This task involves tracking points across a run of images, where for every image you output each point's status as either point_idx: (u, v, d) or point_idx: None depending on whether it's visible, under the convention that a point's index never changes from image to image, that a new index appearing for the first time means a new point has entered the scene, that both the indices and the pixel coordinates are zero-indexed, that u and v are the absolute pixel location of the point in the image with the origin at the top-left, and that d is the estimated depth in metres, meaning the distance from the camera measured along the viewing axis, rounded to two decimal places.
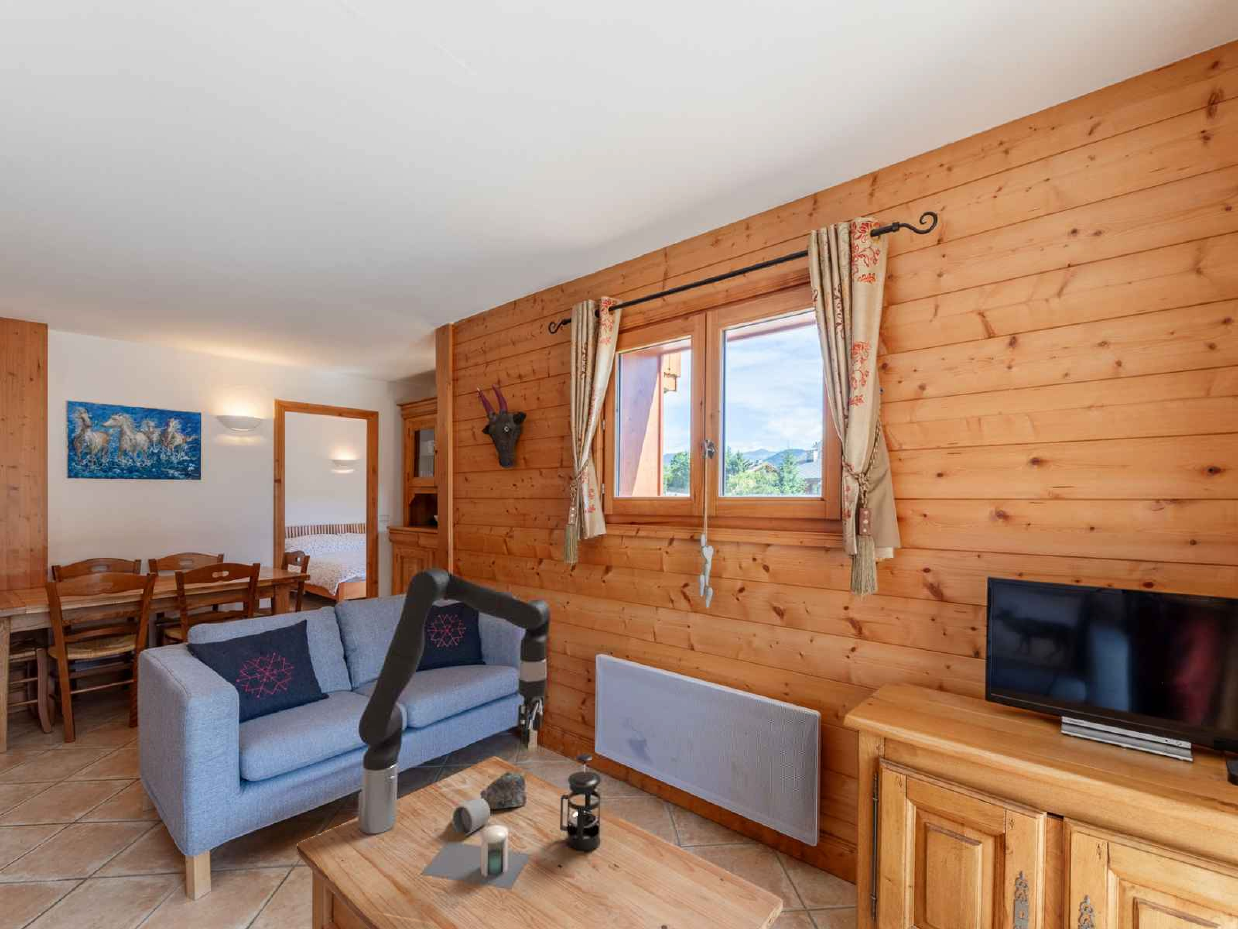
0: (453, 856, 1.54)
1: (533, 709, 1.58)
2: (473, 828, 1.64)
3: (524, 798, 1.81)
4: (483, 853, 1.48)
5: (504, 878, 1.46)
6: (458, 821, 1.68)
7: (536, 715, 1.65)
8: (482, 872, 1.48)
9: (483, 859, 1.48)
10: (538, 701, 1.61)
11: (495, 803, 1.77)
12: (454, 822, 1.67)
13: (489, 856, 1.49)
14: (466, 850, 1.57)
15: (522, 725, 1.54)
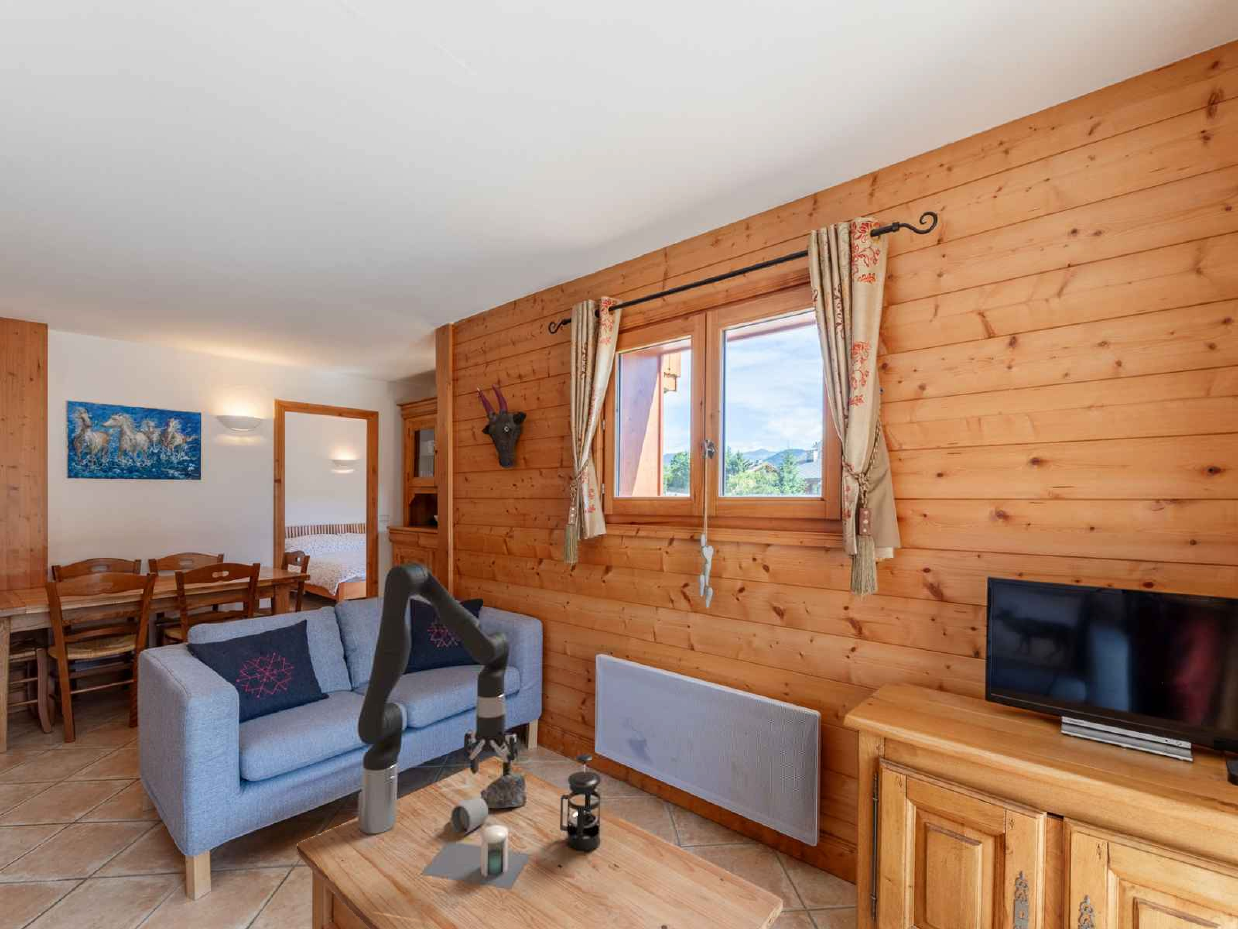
0: (453, 856, 1.54)
1: None
2: (471, 827, 1.64)
3: (524, 798, 1.81)
4: (483, 853, 1.48)
5: (504, 878, 1.46)
6: (456, 820, 1.68)
7: (475, 757, 1.57)
8: (482, 872, 1.48)
9: (483, 859, 1.48)
10: None
11: (495, 803, 1.77)
12: (452, 821, 1.67)
13: (489, 856, 1.49)
14: (466, 850, 1.57)
15: (515, 754, 1.55)
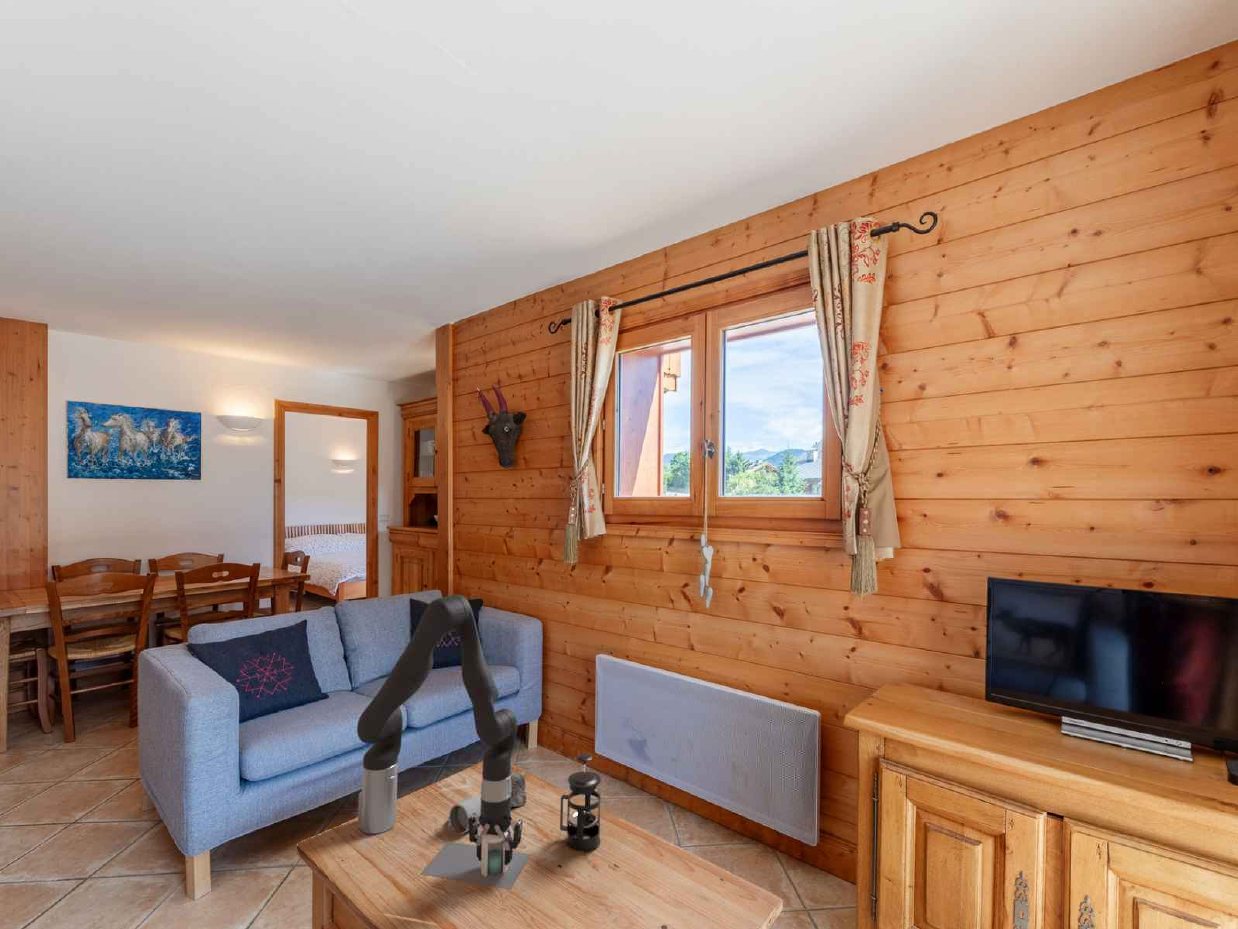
0: (453, 856, 1.54)
1: None
2: None
3: (524, 798, 1.81)
4: (483, 853, 1.48)
5: (504, 878, 1.46)
6: (455, 820, 1.69)
7: None
8: (482, 872, 1.48)
9: (483, 859, 1.48)
10: None
11: None
12: (450, 820, 1.67)
13: (489, 856, 1.49)
14: (466, 850, 1.57)
15: (517, 842, 1.49)
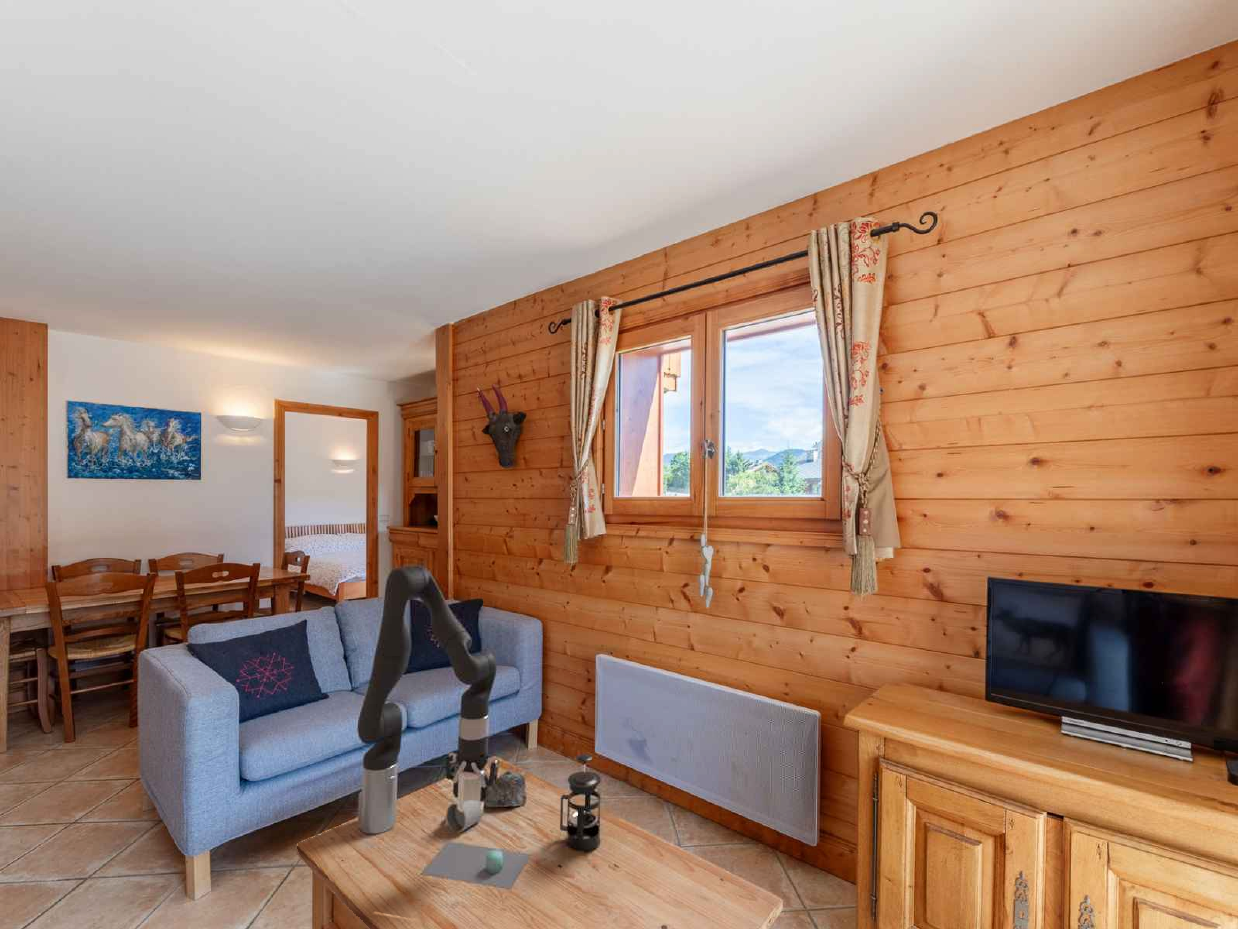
0: (453, 856, 1.54)
1: None
2: (466, 825, 1.65)
3: (524, 797, 1.81)
4: (459, 790, 1.50)
5: (504, 878, 1.46)
6: (452, 818, 1.69)
7: None
8: (458, 808, 1.50)
9: (459, 795, 1.50)
10: None
11: (495, 802, 1.78)
12: (448, 819, 1.68)
13: (489, 856, 1.49)
14: (466, 850, 1.57)
15: (493, 779, 1.51)
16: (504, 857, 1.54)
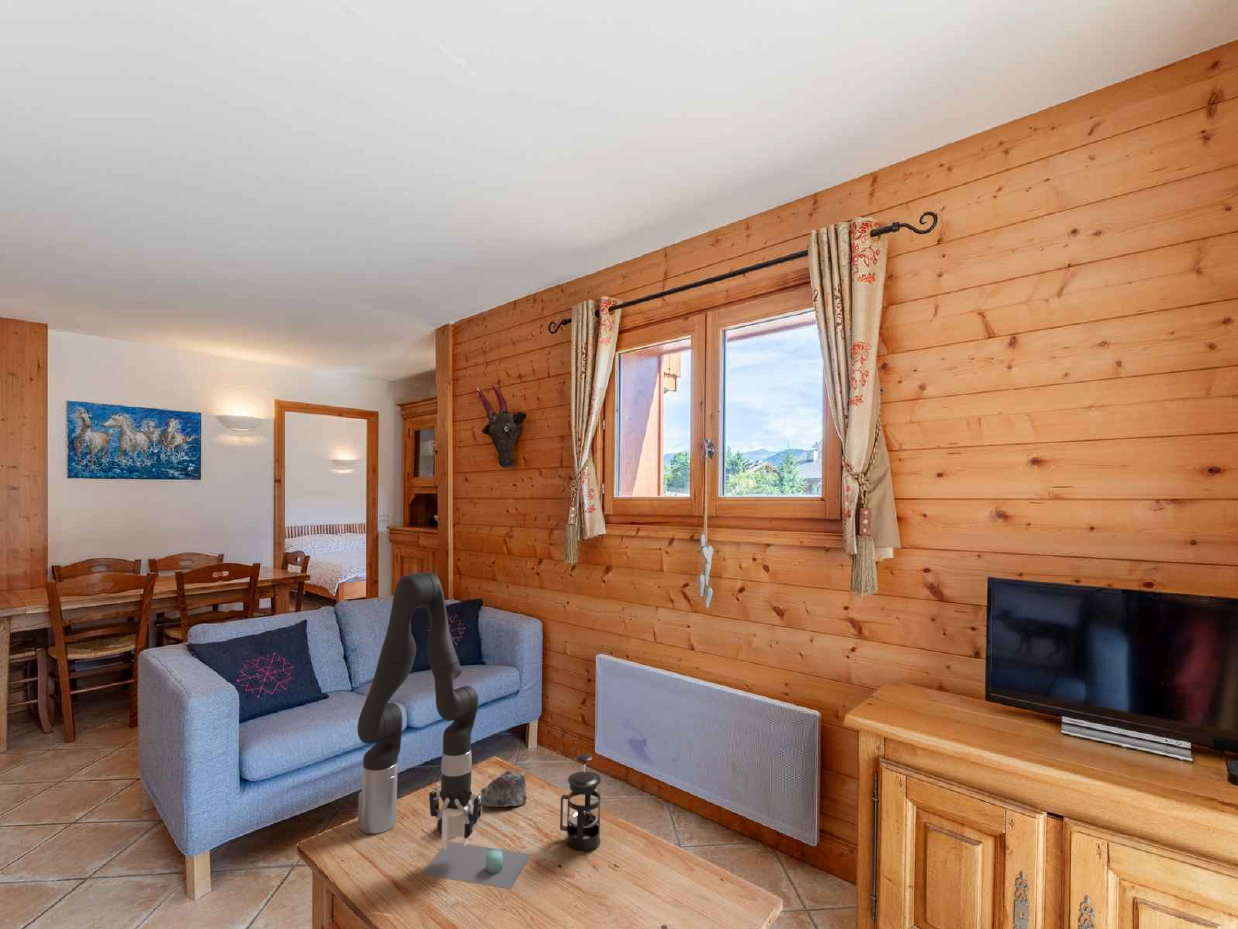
0: (453, 856, 1.54)
1: None
2: None
3: (524, 797, 1.81)
4: (443, 827, 1.50)
5: (504, 878, 1.46)
6: None
7: None
8: (442, 845, 1.50)
9: (443, 833, 1.50)
10: None
11: (495, 802, 1.78)
12: None
13: (489, 856, 1.49)
14: (466, 850, 1.57)
15: None
16: (504, 857, 1.54)
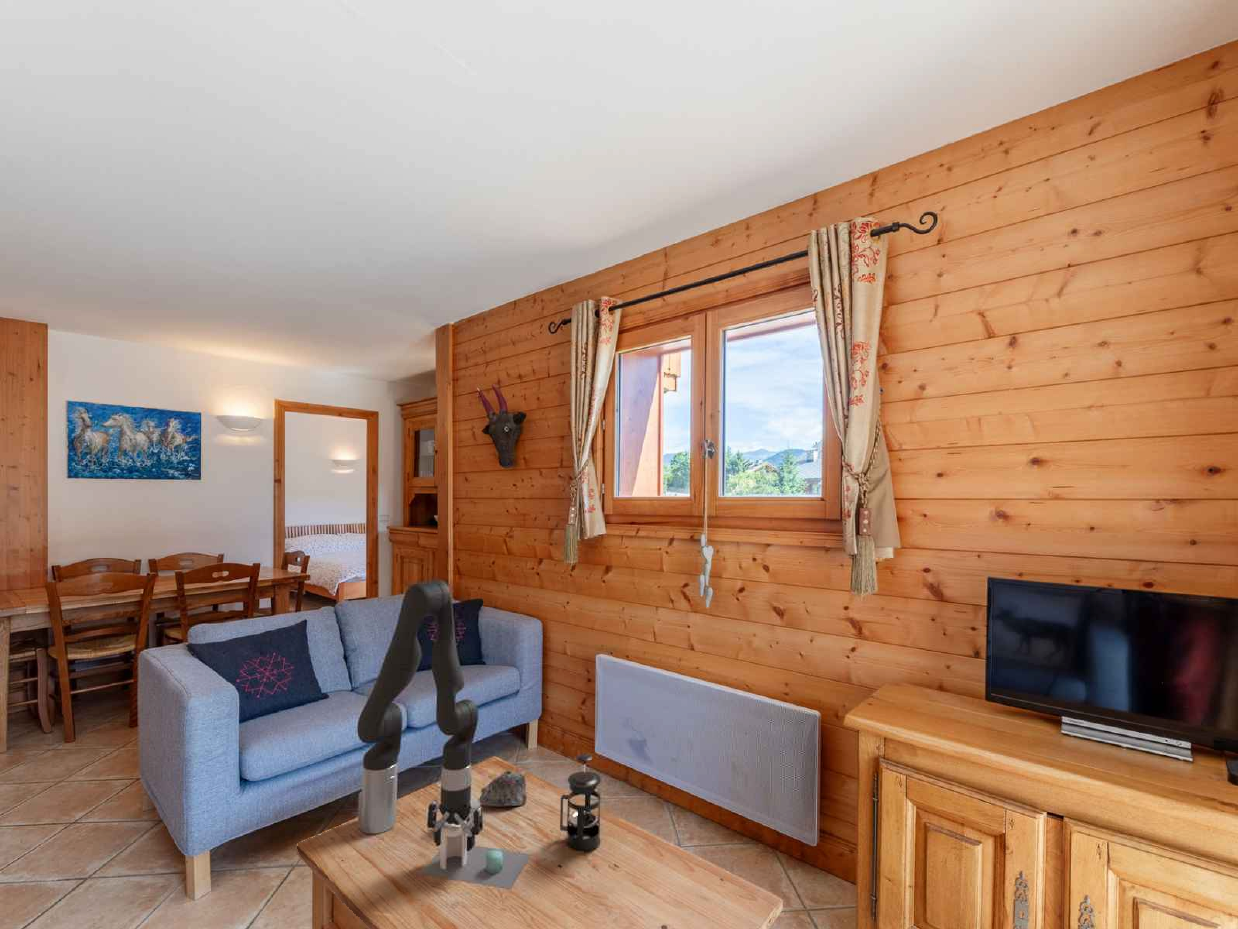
0: (453, 856, 1.54)
1: None
2: None
3: (524, 797, 1.81)
4: (442, 847, 1.50)
5: (504, 878, 1.46)
6: None
7: (439, 828, 1.53)
8: (441, 865, 1.50)
9: (442, 853, 1.50)
10: None
11: (494, 801, 1.78)
12: None
13: (489, 856, 1.49)
14: None
15: (479, 828, 1.51)
16: (504, 857, 1.54)
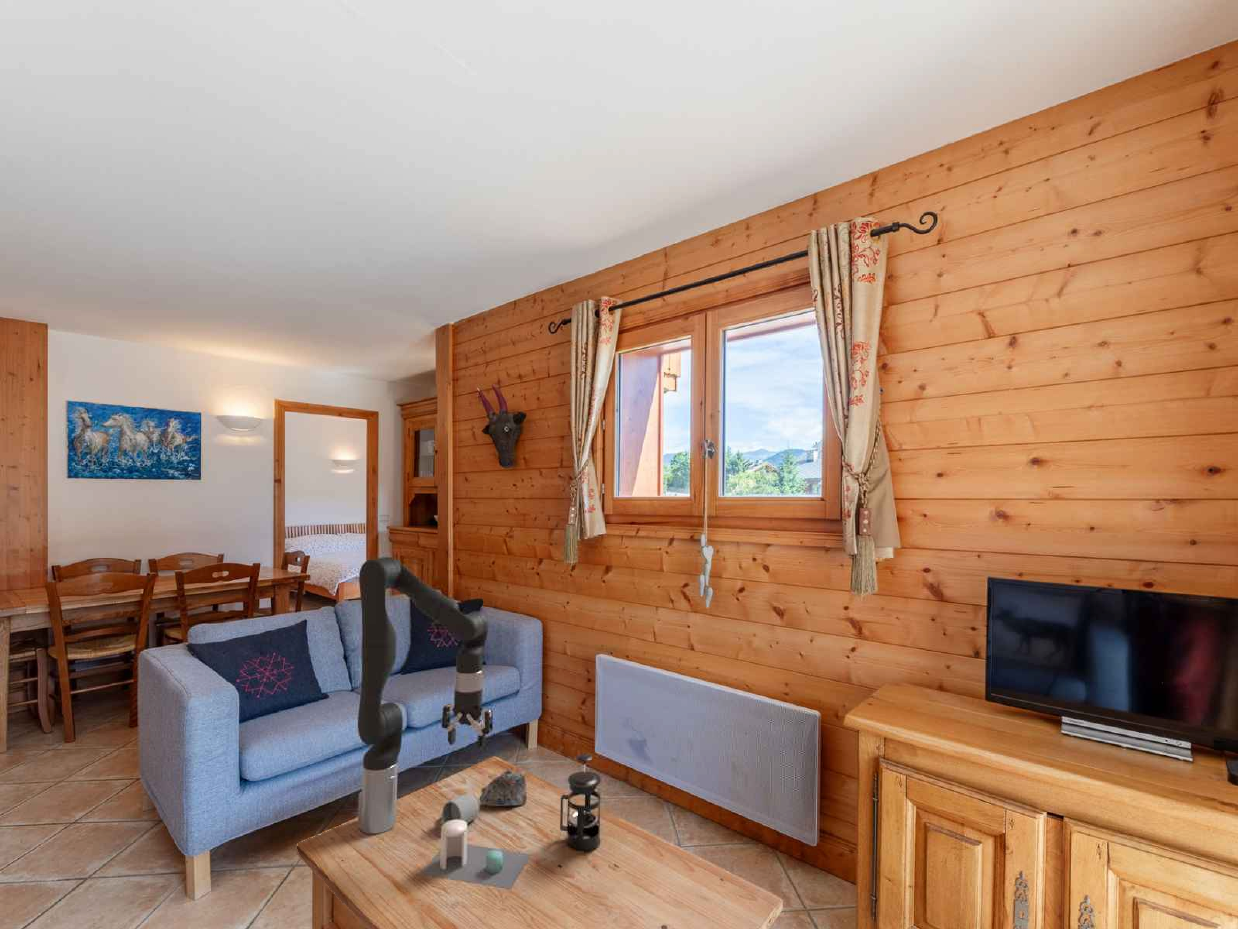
0: (453, 856, 1.54)
1: None
2: None
3: (524, 797, 1.81)
4: (442, 847, 1.50)
5: (504, 878, 1.46)
6: (448, 816, 1.70)
7: (453, 729, 1.65)
8: (441, 865, 1.50)
9: (442, 853, 1.50)
10: None
11: (494, 801, 1.78)
12: (443, 817, 1.69)
13: (489, 856, 1.49)
14: None
15: (489, 728, 1.63)
16: (504, 857, 1.54)
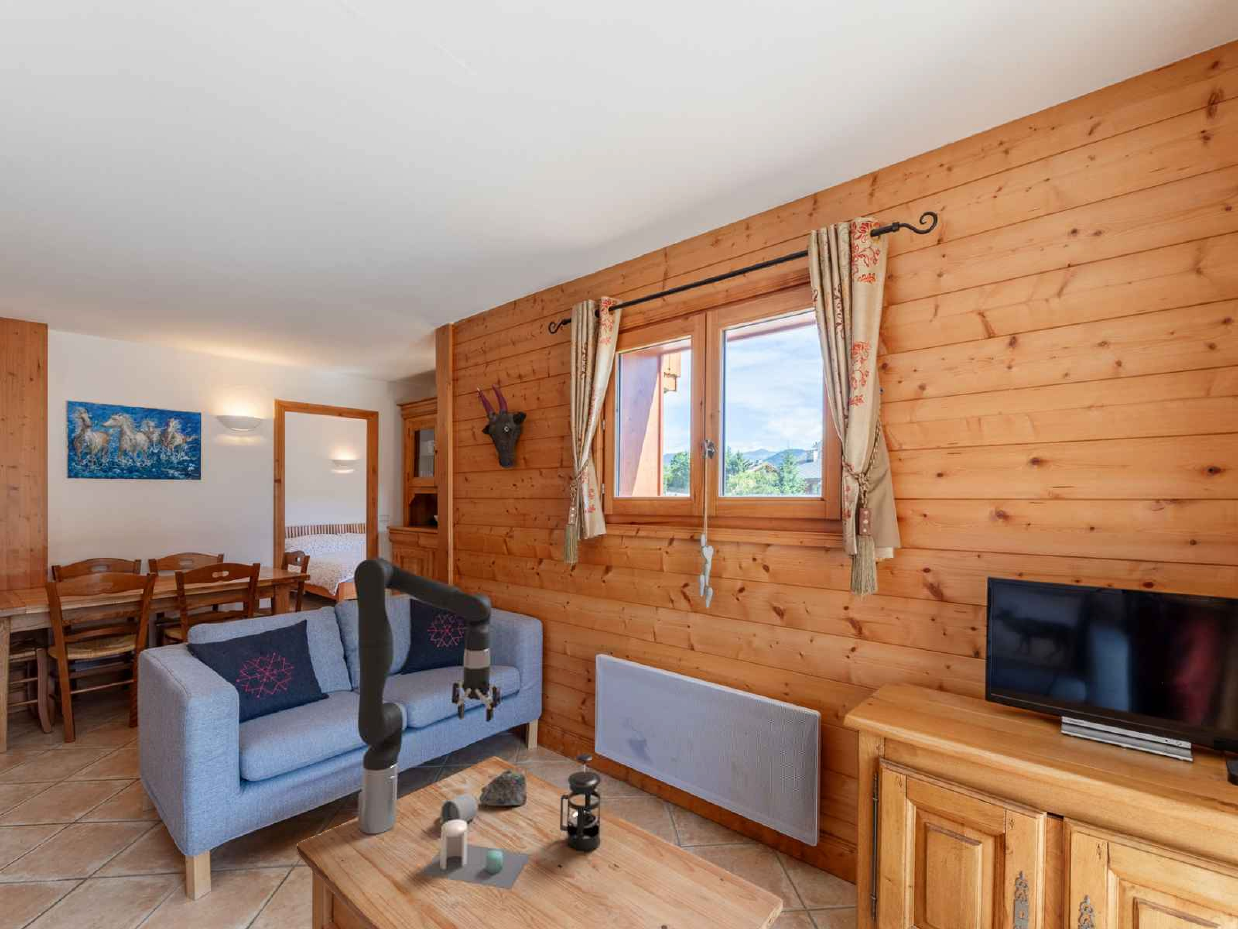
0: (453, 856, 1.54)
1: None
2: None
3: (524, 797, 1.82)
4: (442, 847, 1.50)
5: (504, 878, 1.46)
6: (446, 816, 1.70)
7: (462, 704, 1.76)
8: (441, 865, 1.50)
9: (442, 853, 1.50)
10: None
11: (494, 801, 1.78)
12: (442, 816, 1.69)
13: (489, 856, 1.49)
14: None
15: (497, 702, 1.73)
16: (504, 857, 1.54)
